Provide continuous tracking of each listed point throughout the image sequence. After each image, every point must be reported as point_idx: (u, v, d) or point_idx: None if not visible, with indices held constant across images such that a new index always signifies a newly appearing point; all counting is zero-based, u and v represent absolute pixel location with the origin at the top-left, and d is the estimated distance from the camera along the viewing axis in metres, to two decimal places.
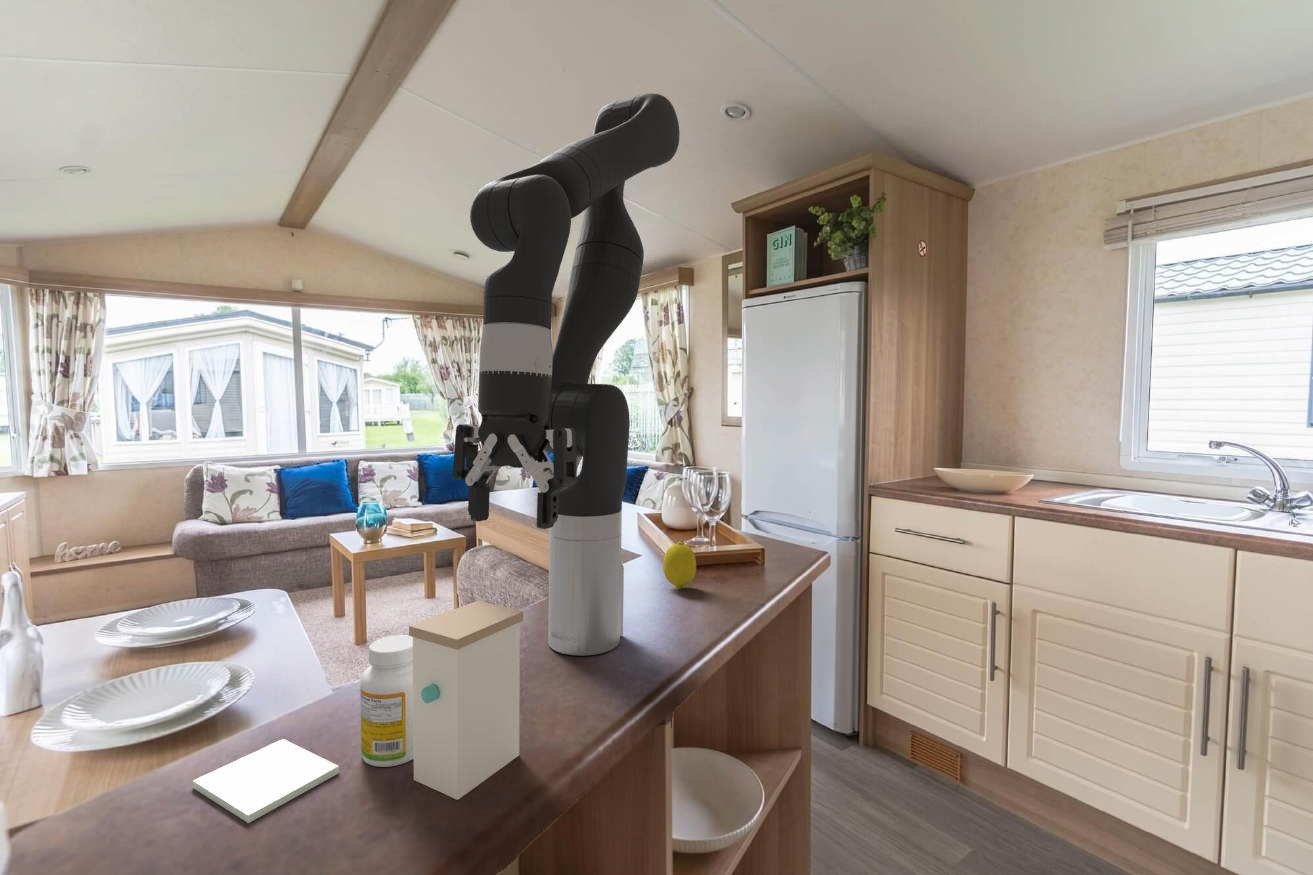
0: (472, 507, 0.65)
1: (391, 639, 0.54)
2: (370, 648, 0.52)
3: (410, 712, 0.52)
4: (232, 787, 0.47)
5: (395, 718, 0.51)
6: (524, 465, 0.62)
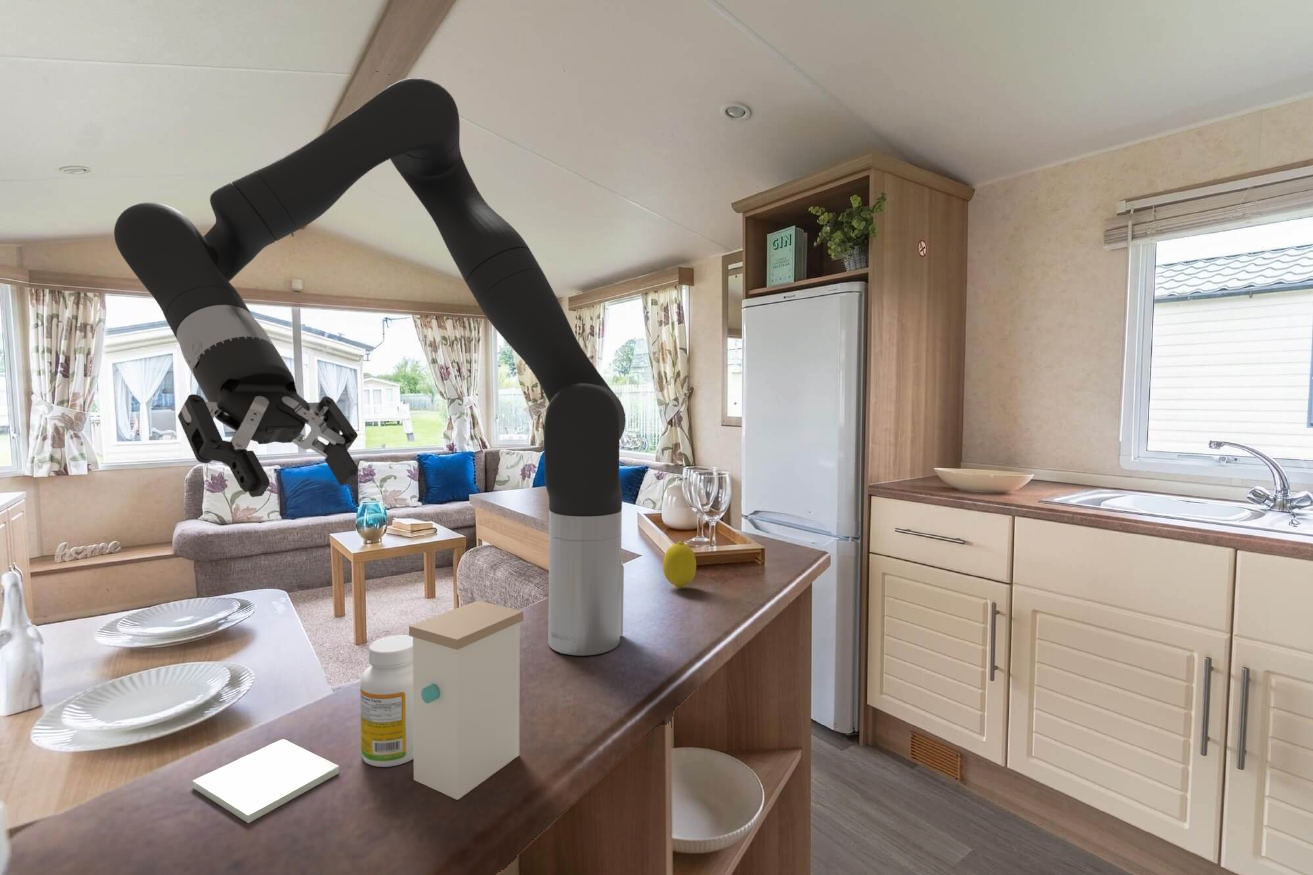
0: (258, 469, 0.53)
1: (391, 639, 0.54)
2: (370, 648, 0.52)
3: (410, 712, 0.52)
4: (232, 787, 0.47)
5: (395, 718, 0.51)
6: (312, 421, 0.60)
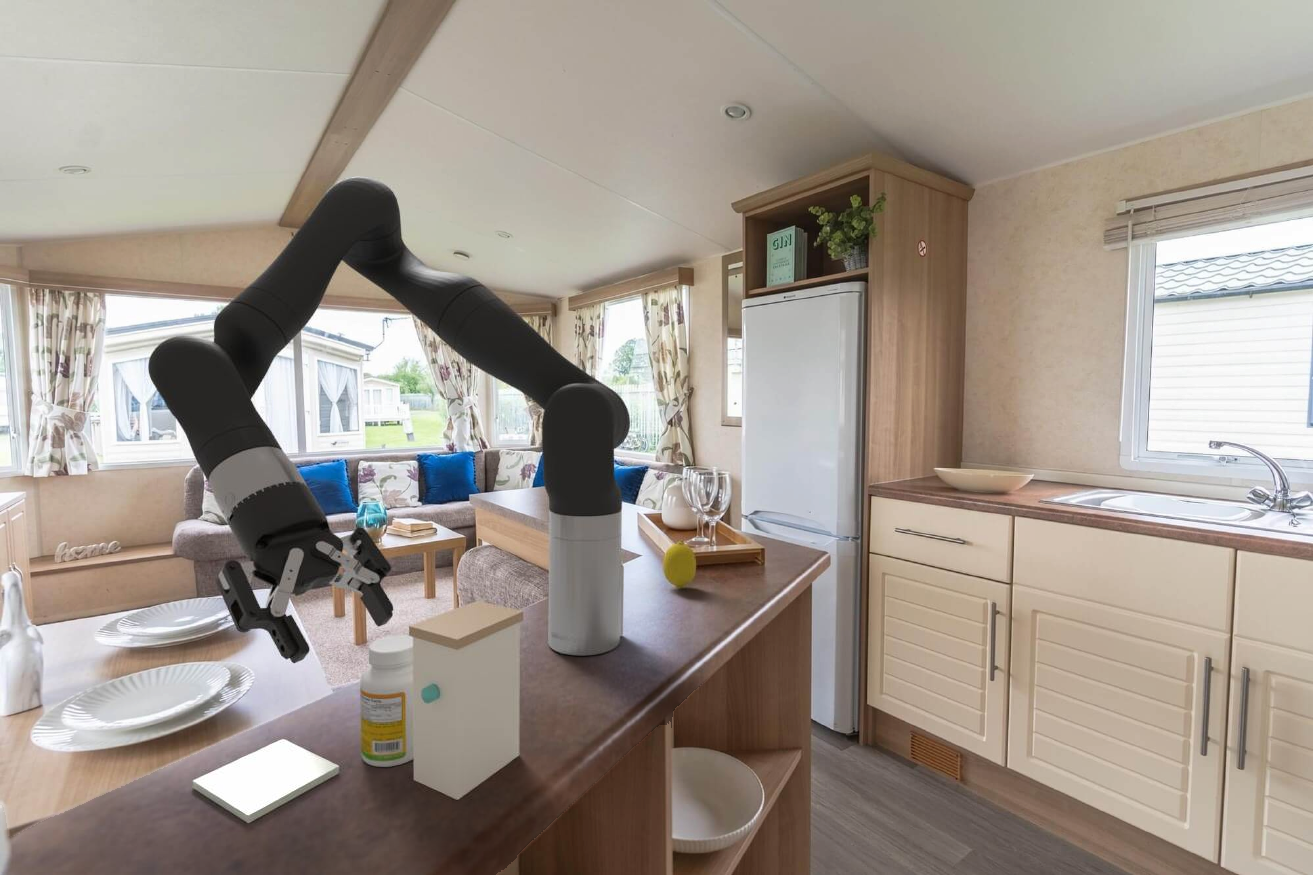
0: (298, 636, 0.53)
1: (391, 639, 0.54)
2: (370, 648, 0.52)
3: (410, 712, 0.52)
4: (232, 787, 0.47)
5: (395, 718, 0.51)
6: (347, 564, 0.60)
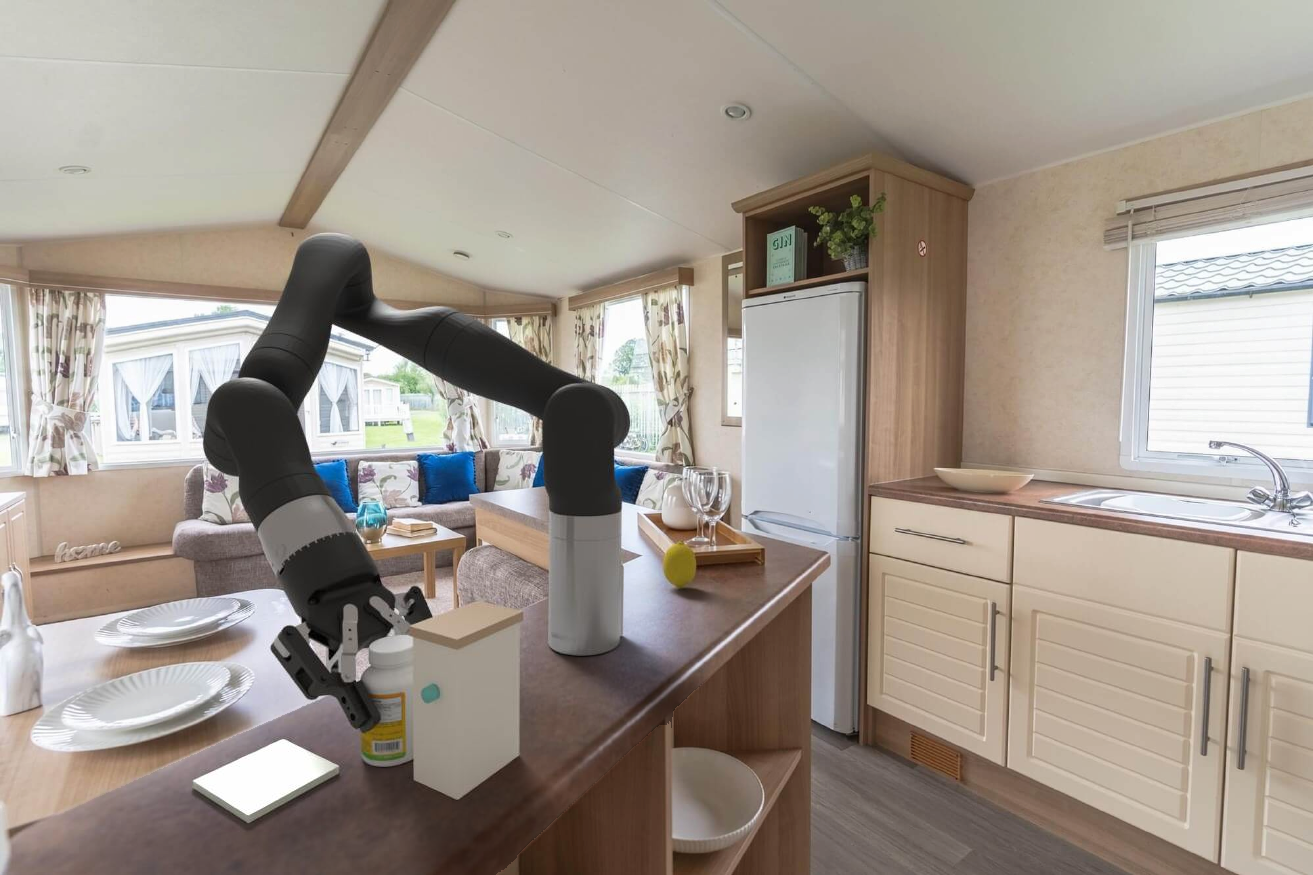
0: (369, 704, 0.50)
1: (391, 639, 0.54)
2: (370, 648, 0.52)
3: (410, 712, 0.52)
4: (232, 787, 0.47)
5: (395, 718, 0.51)
6: (397, 625, 0.56)
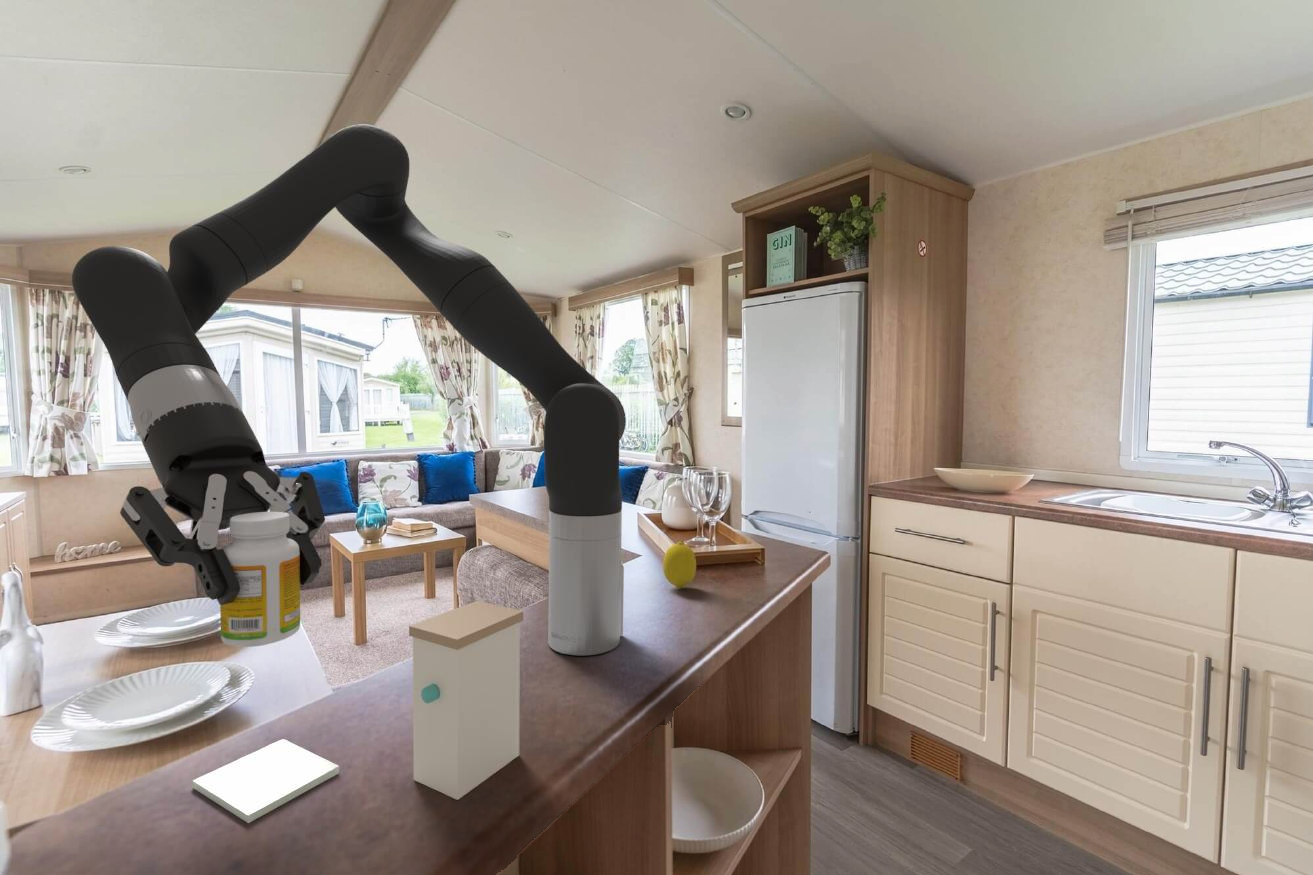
0: (227, 572, 0.45)
1: (260, 514, 0.49)
2: (231, 518, 0.47)
3: (272, 589, 0.47)
4: (232, 787, 0.47)
5: (254, 593, 0.46)
6: (272, 503, 0.51)
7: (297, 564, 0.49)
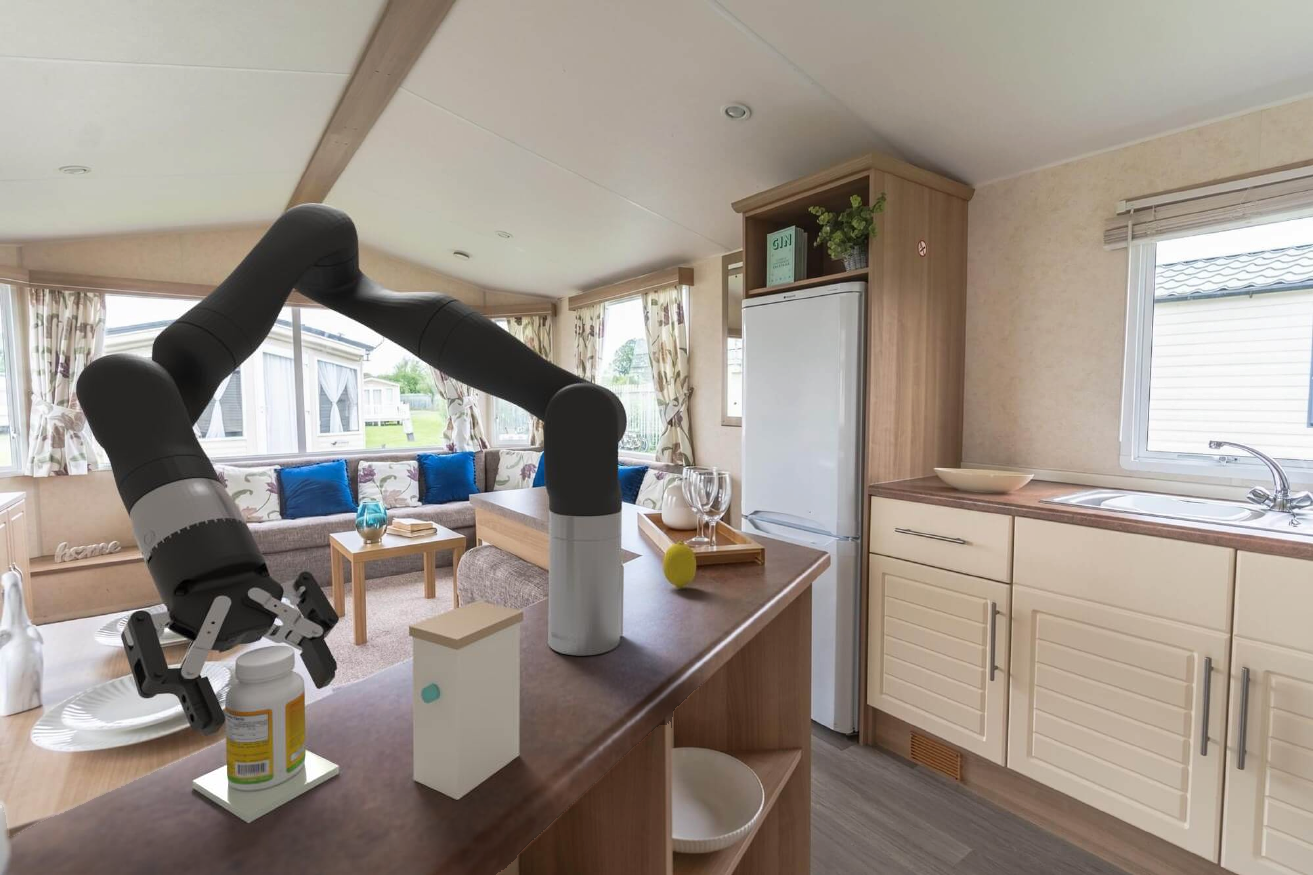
0: (212, 703, 0.44)
1: (265, 650, 0.50)
2: (236, 660, 0.48)
3: (279, 731, 0.47)
4: (232, 787, 0.47)
5: (260, 737, 0.47)
6: (284, 615, 0.52)
7: (302, 700, 0.50)
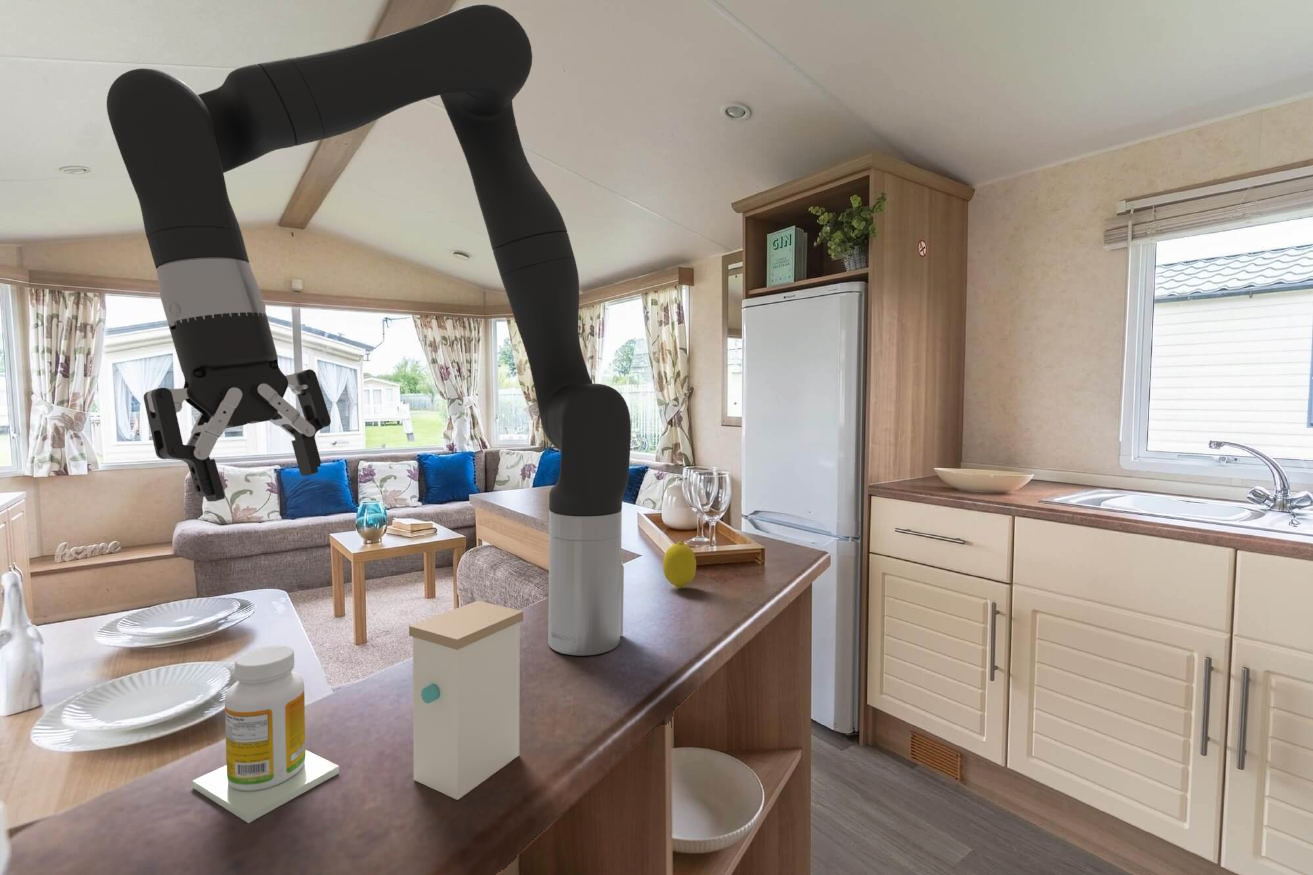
0: (216, 483, 0.54)
1: (264, 650, 0.50)
2: (236, 661, 0.48)
3: (279, 731, 0.47)
4: None
5: (260, 737, 0.47)
6: (285, 413, 0.59)
7: (302, 700, 0.50)
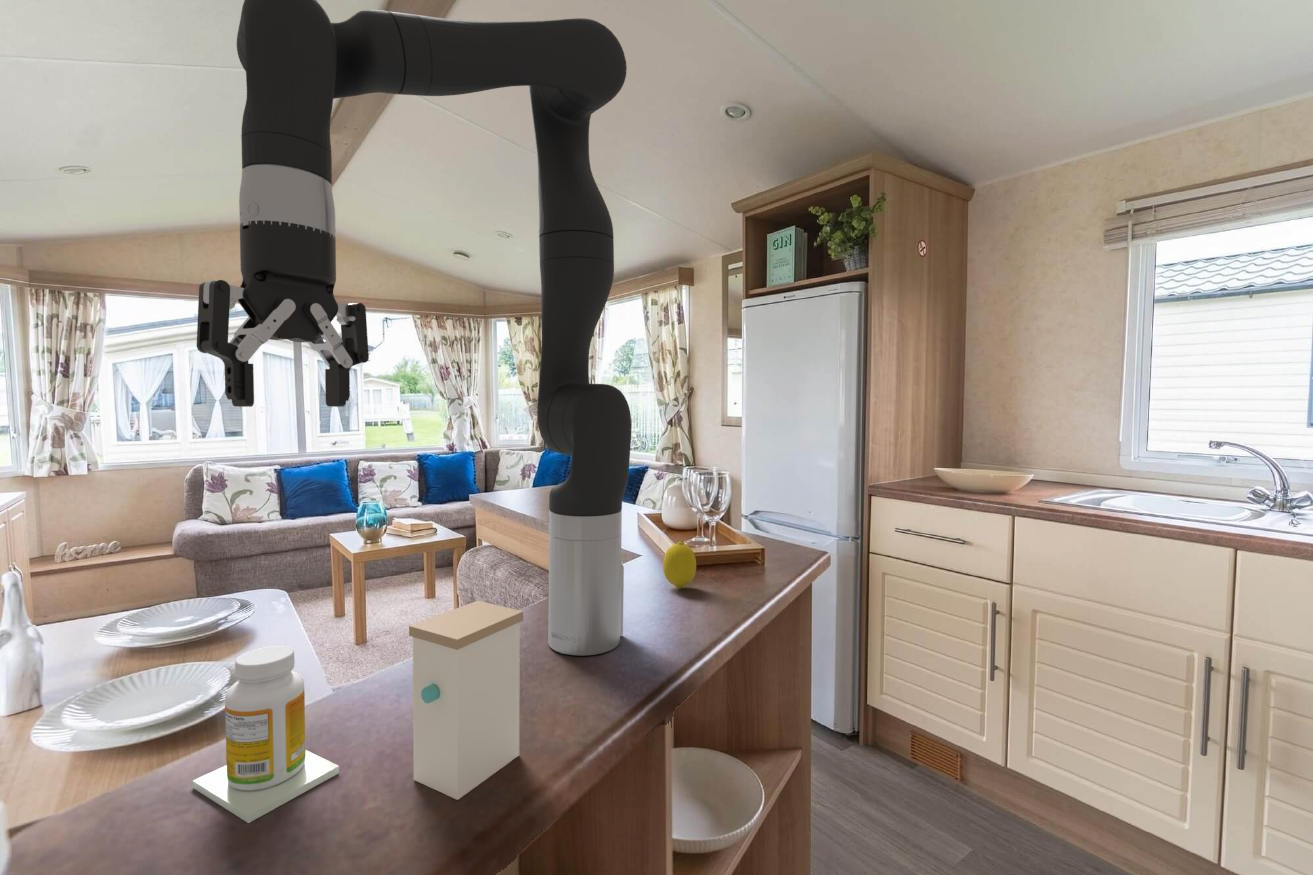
0: (248, 388, 0.52)
1: (264, 650, 0.50)
2: (236, 660, 0.48)
3: (279, 731, 0.47)
4: (232, 787, 0.47)
5: (260, 737, 0.47)
6: (329, 338, 0.58)
7: (302, 699, 0.50)
